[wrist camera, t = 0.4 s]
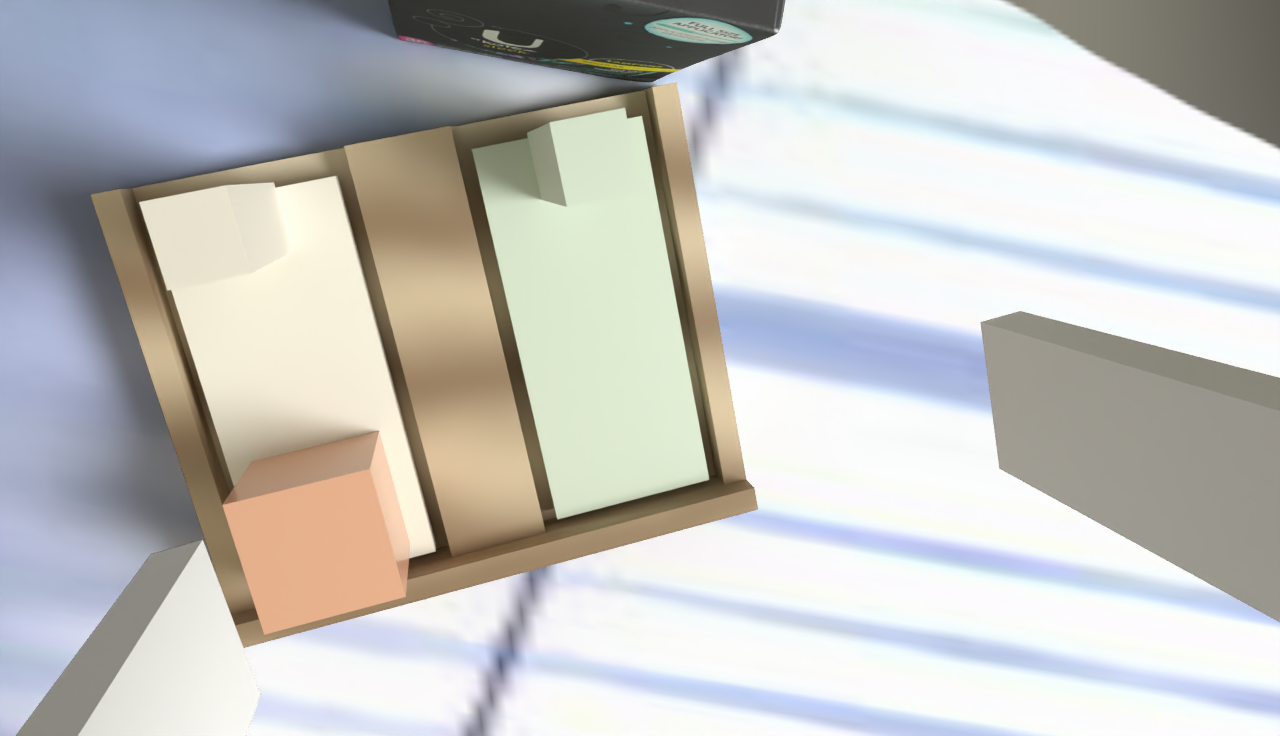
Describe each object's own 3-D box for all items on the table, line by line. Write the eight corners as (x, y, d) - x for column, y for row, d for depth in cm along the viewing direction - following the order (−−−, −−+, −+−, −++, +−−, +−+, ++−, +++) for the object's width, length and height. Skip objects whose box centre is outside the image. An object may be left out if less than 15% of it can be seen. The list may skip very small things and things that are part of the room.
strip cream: (153, 206, 35) (57, 217, 26) (336, 170, 36) (302, 170, 27) (272, 584, 39) (223, 703, 30) (435, 542, 40) (433, 645, 31)
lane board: (113, 193, 36) (78, 195, 32) (662, 87, 39) (683, 79, 36) (249, 610, 40) (231, 651, 37) (733, 483, 43) (758, 509, 40)
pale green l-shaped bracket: (469, 144, 37) (477, 136, 28) (635, 112, 38) (692, 94, 29) (554, 511, 41) (584, 603, 32) (703, 472, 42) (771, 551, 33)
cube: (251, 461, 37) (222, 505, 32) (379, 430, 37) (369, 468, 32) (287, 575, 38) (264, 634, 33) (410, 543, 38) (405, 596, 34)
